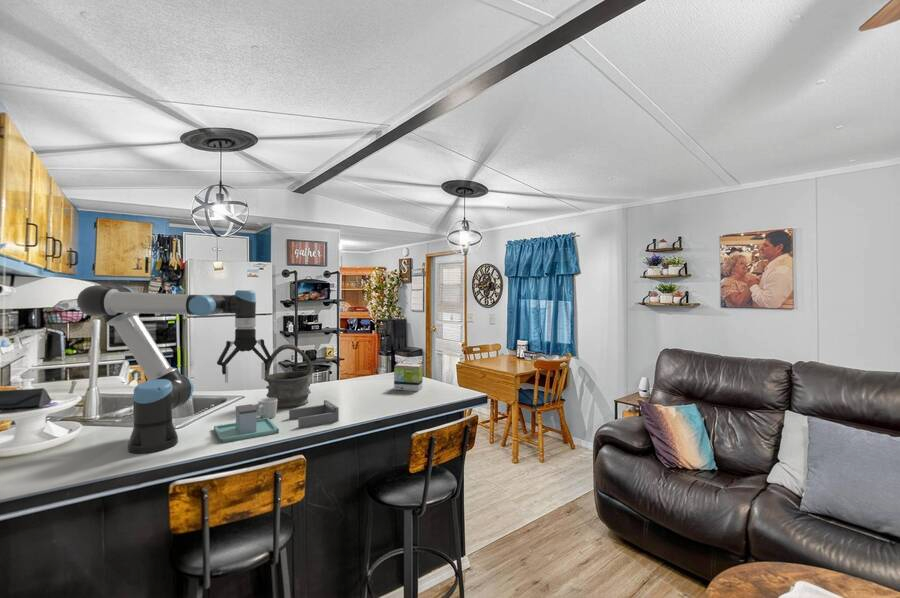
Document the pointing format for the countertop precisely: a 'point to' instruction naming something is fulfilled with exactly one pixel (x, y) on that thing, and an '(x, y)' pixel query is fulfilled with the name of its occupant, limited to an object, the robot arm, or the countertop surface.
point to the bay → (315, 414)
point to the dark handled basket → (289, 382)
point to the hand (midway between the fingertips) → (245, 380)
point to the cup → (267, 407)
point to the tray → (231, 434)
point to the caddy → (246, 419)
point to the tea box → (408, 376)
